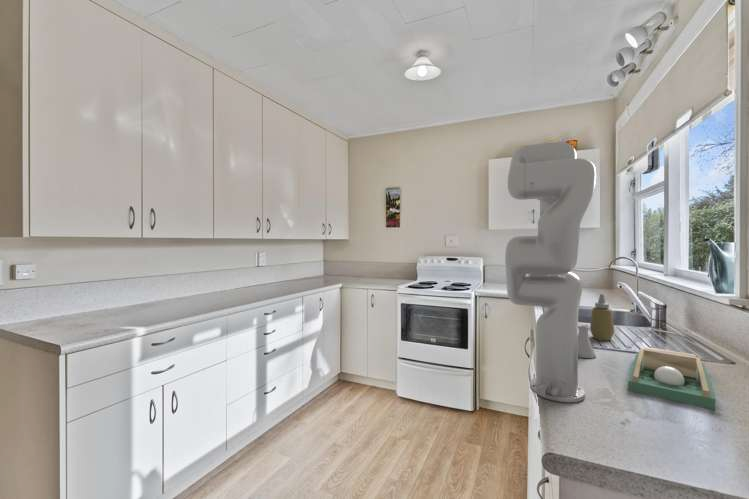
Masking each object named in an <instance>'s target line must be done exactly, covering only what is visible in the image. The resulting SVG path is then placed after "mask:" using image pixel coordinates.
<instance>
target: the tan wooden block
mask: <svg viewBox="0 0 749 499" xmlns="http://www.w3.org/2000/svg"><path fill="white" fill-rule="evenodd" d="M643 349H644V369H650V370H655V371H656V370H657V369H658V368H659V367H663V366H669V367H673V368H675V369H677V370H678V371H679V372H680V373H681V374H682V375H683V376H688V377H693V378H696V357H697V355H696V354H693V353H688V352H680V351H674V350H668V349H663V348H662V349H661V348H655V347H654V348H653V347H647V346H644V347H643Z"/></svg>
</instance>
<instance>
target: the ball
mask: <svg viewBox="0 0 749 499" xmlns="http://www.w3.org/2000/svg"><path fill="white" fill-rule="evenodd" d="M654 379H655V380H656V381H659V382H662V383H666V384H671V385H679V386H684V382H685V381H684V377H683V375H682V374H681V373H680V372H679V371H678V370H677V369H675V368H673V367H669V366H663V367H659V368H658V369H657V370H656V371H655V373H654Z"/></svg>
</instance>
